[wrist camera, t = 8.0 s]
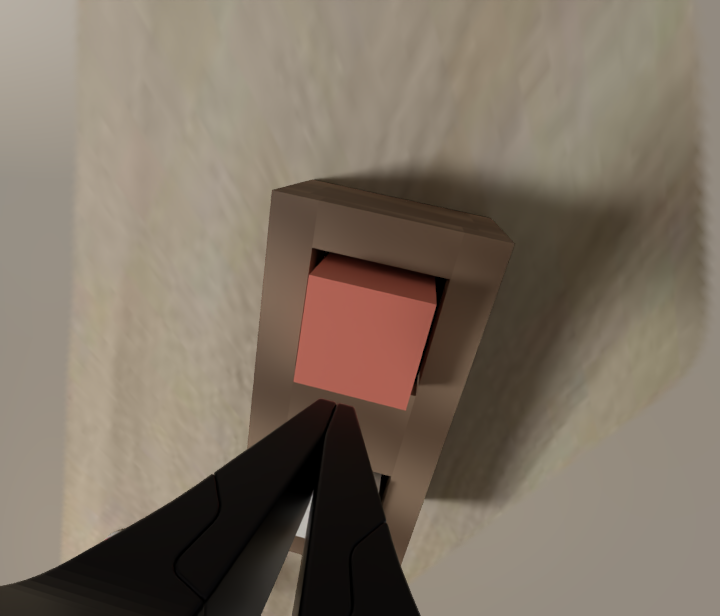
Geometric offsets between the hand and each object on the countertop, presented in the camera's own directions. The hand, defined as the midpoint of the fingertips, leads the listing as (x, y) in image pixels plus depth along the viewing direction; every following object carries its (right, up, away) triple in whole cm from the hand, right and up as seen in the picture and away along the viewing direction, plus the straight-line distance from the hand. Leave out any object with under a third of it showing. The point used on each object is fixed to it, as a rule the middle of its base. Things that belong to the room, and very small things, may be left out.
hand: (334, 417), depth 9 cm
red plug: (+1, +3, +8) cm, 9 cm away
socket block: (+1, 0, +11) cm, 11 cm away
